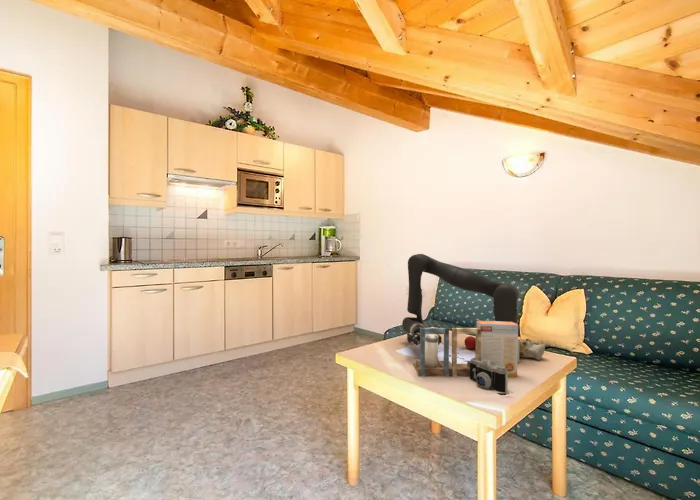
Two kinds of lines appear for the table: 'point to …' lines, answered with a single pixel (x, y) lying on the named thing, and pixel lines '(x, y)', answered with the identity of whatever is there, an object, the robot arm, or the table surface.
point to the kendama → (470, 342)
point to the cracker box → (500, 344)
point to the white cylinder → (431, 351)
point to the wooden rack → (447, 354)
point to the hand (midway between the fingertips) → (427, 343)
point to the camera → (489, 375)
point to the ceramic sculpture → (531, 349)
